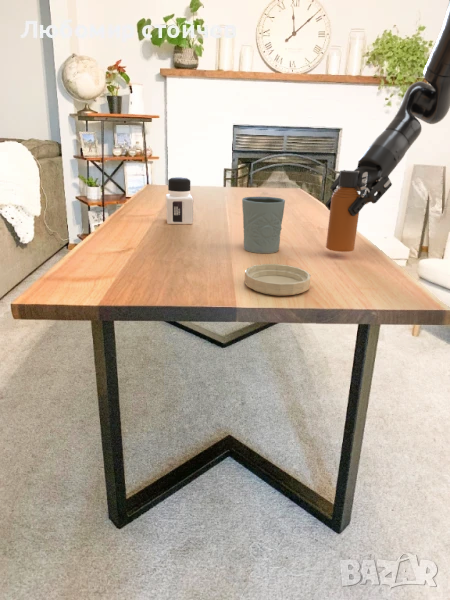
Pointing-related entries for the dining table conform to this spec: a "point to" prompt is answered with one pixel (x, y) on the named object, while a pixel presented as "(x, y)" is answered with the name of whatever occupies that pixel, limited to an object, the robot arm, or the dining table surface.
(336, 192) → the bottle
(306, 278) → the dish
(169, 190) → the container
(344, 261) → the dining table surface
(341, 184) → the cap
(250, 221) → the grey blue embossed cup
